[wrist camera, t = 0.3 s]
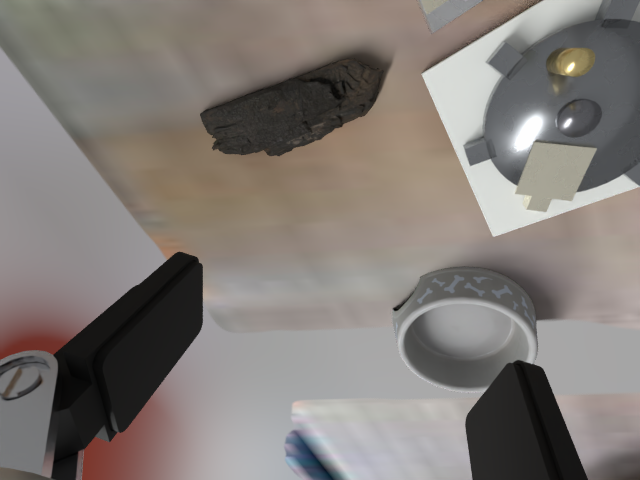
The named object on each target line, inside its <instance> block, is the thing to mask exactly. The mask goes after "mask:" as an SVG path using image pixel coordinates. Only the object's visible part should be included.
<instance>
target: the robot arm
mask: <svg viewBox="0 0 640 480" xmlns="http://www.w3.org/2000/svg"><path fill="white" fill-rule="evenodd" d="M202 323H203V266H202V264H201V263H199V260H198V258H197V257H195V256H192V255H189V254H186V253H183V252H177V253H175V254H174V255H173V256H172V257H171V258H170V259H168V260H167V261H166V262H165V263H164V264H163V265H161V266H160V267H159V268H158V269H157V270H156V271H154V272H153V273H152V274H151V275H150V276H149V277H148V278H146V279H145V280H144V281H143V282H142V283H140V284H139V285H136V286H135V287H133V288H132V289H130V290H129V291H128V292H127V293H126V294H125V295H123V296H122V297H121V298H120V299H119V300H117V301H116V302H115V303H114V304H113V305H111V306H110V307H109V308H108V309H107V310H106V311H104V312H103V313H102V314H101V315H100V316H98V317H97V318H96V319H95V320H94V321H93V322H91V323H90V324H89V325H88V326H87V327H86V328H84V329H83V330H82V331H81V332H80V333H78V334H77V335H76V336H75V337H74V338H73V339H71V340H70V341H69V342H68V343H67V344H66V345H64V346H63V347H62V348H61V349H60V350H58V352H56V353H55V354H54V355H51V354H49V353H47V352H44V351H37V350H35V351H24V352H20V353H17V354H13V355H10V356H8V357H6V358H4V359H2V360H0V480H81V479H82V466H83V452H84V449H85V448H86V447H87V446H88V444H89V443H90V442H91V441H92V439H93V438H94V437H98V438H100V439H103V440H105V441H108V442H110V441H111V440H112V439H113V437H114V436H115V435H116V433H117V432H120V433H121V432H123V431H125V430H126V429H127V428H128V426H129V425H130V424H131V422H132V421H133V420H134V419H135V417H136V416H137V414H138V413H139V412H140V411H141V409H142V408H143V407H144V405H145V404H146V403H147V401H148V400H149V399H150V397H151V396H152V395H153V393H154V392H155V391H156V389H157V388H158V387H159V385H160V384H161V382H162V381H163V380H164V378H165V377H166V376H167V375H168V374H169V372H170V371H171V370H172V368H173V367H174V366H175V364H176V363H177V362H178V360H179V359H180V358H181V356H182V355H183V354H184V352H185V351H186V350H187V348H188V347H189V346H190V344H191V343H192V342H193V340H194V339H195V338H196V336H197V335H198V334H199V332H200V330H201V327H202ZM465 425H466V434H467V441H468V449H469V456H470V463H471V471H472V478H473V480H588V479H587V476H586V474H585V471H584V469H583V466H582V464H581V461H580V459H579V456H578V454H577V451H576V449H575V446H574V444H573V441H572V439H571V436H570V434H569V431H568V429H567V426H566V424H565V421H564V419H563V416H562V414H561V411H560V409H559V406H558V404H557V402H556V399H555V397H554V394H553V392H552V389H551V387H550V384H549V382H548V379H547V377H546V374H545V372H544V370H543V369H542V368H541V367H540V366H537V365H534V364H531V363H527V362H524V361H521V360H516V361H514V362H513V363H507V364H506V365H505V367H504V368H503V369H502V371H501V372H500V373H499V374H498V376H497V377H496V378H495V380H494V381H493V382H492V383H491V385H490V386H489V387H488V389H487V390H486V391H485V392H484V394H483V395H482V396H481V398H480V399H479V400H478V401H477V403H476V404H475V405H474V407H473V408H472V409H471V410H470V412H469V413H468V415H467V417H466V424H465Z"/></svg>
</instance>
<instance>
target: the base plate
mask: <svg viewBox="0 0 640 480" xmlns="http://www.w3.org/2000/svg"><path fill="white" fill-rule="evenodd" d="M602 1H603V0H542V1H540V2H538V3H537V4H535V5H533V6H532V7H530V8H528V9H527V10H525V11H523V12H522V13H520V14H518V15H517V16H515V17H513V18H512V19H510V20H509V21H507V22H505V23H504V24H502V25H500V26H499V27H497V28H495V29H494V30H492V31H490V32H489V33H487V34H485V35H484V36H482V37H481V38H479V39H477V40H476V41H474V42H472V43H471V44H469V45H467V46H466V47H464V48H462V49H461V50H459V51H457V52H456V53H454V54H452V55H451V56H449V57H448V58H446V59H444V60H443V61H441V62H439V63H438V64H436V65H434V66H433V67H431V68H429V69H428V70H426V71H424V72H423V73H421V74H422V76H423V78H424V81H425V83H426V85H427V88H428V90H429V92H430V94H431V97H432V99H433V101H434V103H435V106H436V108H437V110H438V113H439V115H440V117H441V119H442V122H443V124H444V126H445V128H446V131H447V133H448V135H449V137H450V140H451V142H452V144H453V147H454V149H455V151H456V153H457V156H458V158H459V160H460V162H461V165H462V167H463V169H464V172H465V174H466V176H467V178H468V181H469V183H470V185H471V187H472V190H473V192H474V194H475V197H476V199H477V201H478V203H479V206H480V208H481V210H482V212H483V215H484V217H485V219H486V221H487V224H488V226H489V228H490V231H491V233H492V235H493V237H495V236H497V235H500V234H503V233H506V232H509V231H512V230H515V229H518V228H521V227H524V226H527V225H530V224H532V223H535V222H538V221H541V220H544V219H547V218H550V217H553V216H556V215H559V214H562V213H564V212H567V211H570V210H573V209H576V208H579V207H582V206H585V205H588V204H591V203H594V202H597V201H599V200H602V199H605V198H608V197H611V196H614V195H617V194H620V193H623V192H626V191H629V190H632V189H634V188H637V187H640V186H639V185H637V184H635V183H634V182H632V181H630V180H629V179H628V178H627V177H625V176H624V175H621V176H620V177H618V178H616V179H614V180H612V181H610V182H608V183H606V184H603V185H601V186H598V187H596V188H592V189H589V190H586V191H582V192H577V193H576V194H575V196H574V198H573V200H572V201H566V200H558V199H552V200H551V203H550V205H549V207H548V209H547V212H541V211H534V210H526V208H525V207H524V205H523V204H522V203H523V201H524V198H525V195H519V194H515V190H516V187H517V185H515V184H513V183H512V182H510V181H509V180H507V179H506V178H505V177H504V176H503V175H502V174H501V173H500V172H499V171H498V170H497V168H496V167H495V165H494V164H493V163H492V161H491V159H489V160H486V161H483V162H481V163H478V164H475V165H472V166H470V165H469V163H468V160H467V157H466V154H465V150H464V147H463V145H465V144H467V143H470V142H473V141H475V140H478V139H480V138H483V128H482V124H483V116H484V112H485V108H486V104H487V101H488V99H489V96H490V94H491V92H492V90H493V88H494V86H495V84H496V83H497V81H498V80H499V78H500V77H501V75H500V74H499V73H498V72H496V71H495V70H494V69H493V68H491V67H490V66H489V65H488V64H487V63H485V62H486V61H487V59H488V58H489V57H490V56H491V55H492V53H493V52H494V51H495V50H496V49H497V47H498V46H499V45H500V44H501V43H502V42H507V43H508V44H509V45H510V46H511V47H513V48H514V49H515V50H516V51H518V52H519V53H520V54H521V53H522V52H524V51H525V50H526V49H527V48H529V47H530V46H531V45H533V44H534V43H536V42H537V41H539V40H540V39H542V38H544V37H545V36H547V35H549V34H551V33H553V32H555V31H557V30H560V29H562V28H565V27H568V26H571V25H574V24H578V23H582V22H587V21H594V20H595V18H596V16H597V13H598V11H599V8H600V6H601V3H602ZM632 21H637V22H640V2H639V4H638V6H637V8H636V11H635V13H634V15H633V17H632Z"/></svg>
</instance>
